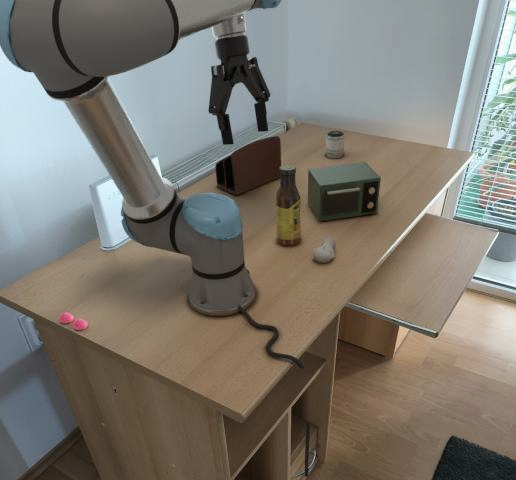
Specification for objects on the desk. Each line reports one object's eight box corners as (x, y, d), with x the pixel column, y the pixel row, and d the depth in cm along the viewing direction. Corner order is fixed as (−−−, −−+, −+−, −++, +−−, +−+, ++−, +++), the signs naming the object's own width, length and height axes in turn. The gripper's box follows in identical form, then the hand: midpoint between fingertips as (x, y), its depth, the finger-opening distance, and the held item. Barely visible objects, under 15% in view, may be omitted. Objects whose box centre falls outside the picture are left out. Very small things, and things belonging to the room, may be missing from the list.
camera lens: (325, 152, 182) (326, 129, 177) (343, 152, 182) (344, 129, 176) (325, 158, 178) (326, 135, 173) (343, 158, 177) (344, 135, 172)
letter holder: (282, 176, 168) (281, 133, 159) (236, 196, 158) (232, 150, 149) (262, 169, 174) (260, 126, 165) (216, 187, 164) (211, 143, 155)
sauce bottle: (298, 247, 133) (298, 173, 120) (275, 246, 134) (272, 172, 121) (302, 235, 138) (302, 162, 125) (279, 234, 139) (277, 162, 126)
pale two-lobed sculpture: (324, 270, 126) (307, 260, 127) (339, 255, 131) (322, 245, 132) (330, 257, 123) (312, 247, 124) (344, 242, 127) (327, 232, 128)
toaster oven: (380, 218, 142) (384, 180, 135) (321, 227, 140) (322, 189, 133) (362, 197, 153) (365, 161, 146) (307, 205, 151) (308, 168, 144)
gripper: (204, 40, 103) (224, 150, 114) (276, 28, 118) (288, 125, 129) (179, 45, 107) (200, 150, 118) (252, 33, 123) (265, 126, 134)
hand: (246, 137), depth 124 cm, fingers open, 13 cm apart
